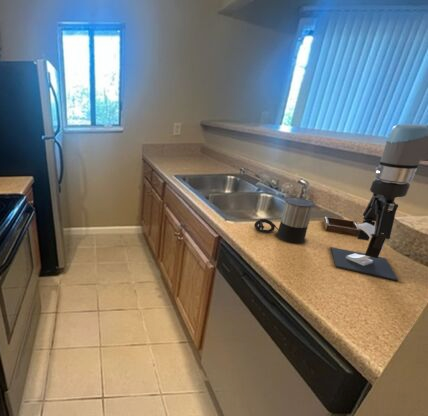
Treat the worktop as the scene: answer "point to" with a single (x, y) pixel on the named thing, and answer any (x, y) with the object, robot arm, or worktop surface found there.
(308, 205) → the milk frother
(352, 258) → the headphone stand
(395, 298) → the worktop surface
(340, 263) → the mat
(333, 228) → the tray
